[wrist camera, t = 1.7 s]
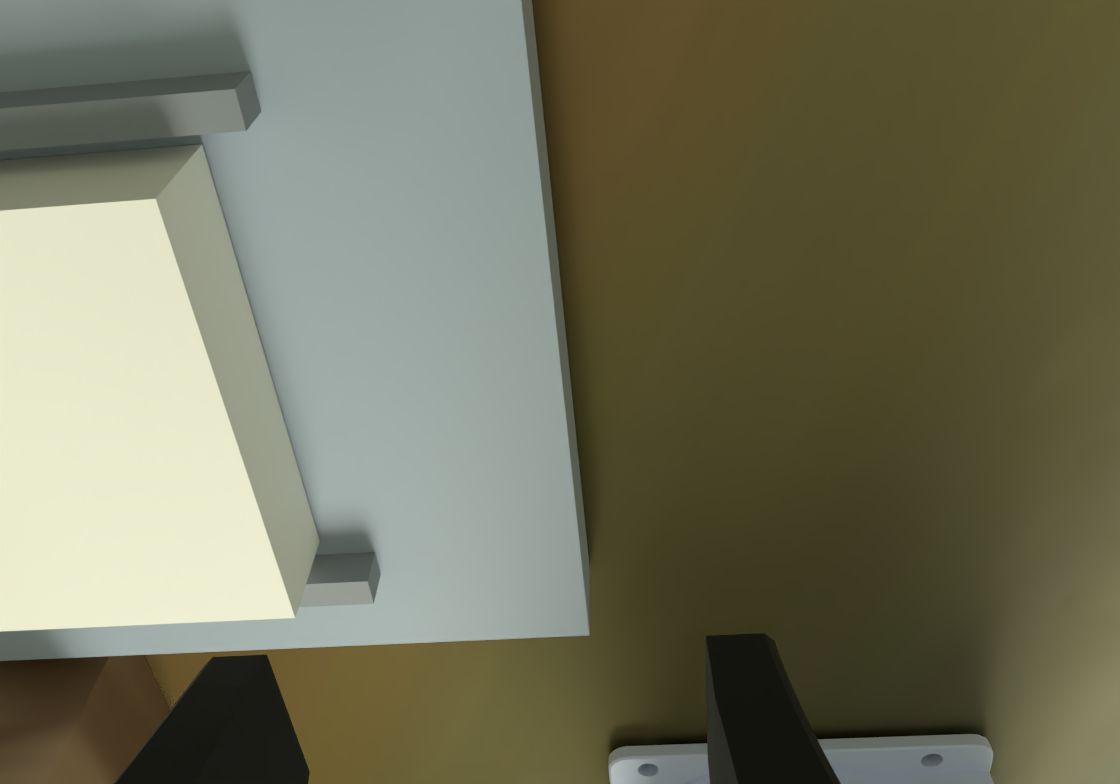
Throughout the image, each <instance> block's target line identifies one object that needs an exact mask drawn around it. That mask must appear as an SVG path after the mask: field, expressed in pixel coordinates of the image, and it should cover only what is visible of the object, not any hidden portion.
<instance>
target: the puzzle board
mask: <svg viewBox="0 0 1120 784" xmlns="http://www.w3.org/2000/svg"><path fill="white" fill-rule="evenodd" d="M200 144H202V145H203V149H204V152H205V155H206V159H207V162H208V166H209V169H210V172H211V176H212V179H213V182H214V186H215V189H216V193H217V196H218V199H219V203H220V206H221V209H222V213H223V216H224V220H225V223H226V226H227V230H228V233H229V236H230V240H231V243H232V247H233V250H234V253H235V257H236V260H237V263H238V267H239V270H240V274H241V277H242V280H243V284H244V287H245V290H246V294H247V297H248V301H249V304H250V307H251V311H252V314H253V317H254V321H255V324H256V328H257V331H258V334H259V338H260V341H261V344H262V348H263V351H264V354H265V358H266V361H267V365H268V368H269V371H270V375H271V378H272V381H273V385H274V388H275V392H276V395H277V398H278V402H279V405H280V408H281V412H282V415H283V419H284V422H285V425H286V429H287V432H288V435H289V439H290V442H291V446H292V449H293V452H294V456H295V459H296V462H297V466H298V469H299V473H300V476H301V479H302V483H303V486H304V489H305V493H306V496H307V500H308V503H309V506H310V510H311V513H312V516H313V520H314V523H315V527H316V530H317V533H318V537H319V540H320V542H319V545H318V548H317V551H316V555H315V558H314V561H313V564H312V567H311V570H310V573H309V576H308V580H307V583H306V586H305V589H304V592H303V595H302V598H301V602H300V605H299V608H298V611H297V614H296V617H295V618H285V619H264V620H242V621H220V622H198V623H176V624H154V625H132V626H110V627H88V628H66V629H44V630H22V631H1V632H0V661H11V660H34V659H57V658H80V657H103V656H126V655H149V654H172V653H195V652H218V651H241V650H264V649H287V648H310V647H333V646H356V645H379V644H402V643H425V642H448V641H471V640H494V639H517V638H540V637H563V636H586V635H589V616H590V566H589V556H588V546H587V537H586V527H585V517H584V507H583V497H582V487H581V478H580V468H579V458H578V448H577V438H576V428H575V419H574V409H573V399H572V389H571V379H570V370H569V360H568V350H567V340H566V330H565V320H564V311H563V301H562V291H561V281H560V271H559V261H558V252H557V242H556V232H555V222H554V212H553V202H552V193H551V183H550V173H549V163H548V153H547V144H546V134H545V124H544V114H543V104H542V94H541V85H540V75H539V65H538V55H537V45H536V35H535V26H534V16H533V6H532V0H0V160H12V159H25V158H37V157H50V156H62V155H75V154H87V153H100V152H112V151H125V150H137V149H150V148H162V147H175V146H187V145H200Z"/></svg>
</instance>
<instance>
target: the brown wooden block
mask: <svg viewBox="0 0 1120 784" xmlns="http://www.w3.org/2000/svg"><path fill="white" fill-rule="evenodd" d="M169 711H170V710H169V707H168V705H167V703H166V701H165V699H164V697H163V694H162V692H161V690H160V688H159V686H158V684H157V681H156V679H155V677H154V675H153V673H152V671H151V668H150V666H149V664H148V662H147V660H146V658H145V655H126V656H103V657H80V658H57V659H34V660H11V661H0V784H113V783H114V782H115V781H116V780H117V778H118V777H119V776H120V775H121V773H122V772H123V771H124V769H125V768H126V767H127V766H128V764H129V763H130V762H131V761H132V759H133V758H134V757H135V755H136V754H137V753H138V752H139V750H140V749H141V748H142V746H143V745H144V744H145V743H146V741H147V740H148V739H149V737H150V736H151V735H152V734H153V732H154V731H155V730H156V728H157V727H158V726H159V724H160V723H161V722H162V721H163V719H164V718H165V717H166V715H167V714H168V713H169Z"/></svg>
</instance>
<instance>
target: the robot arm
mask: <svg viewBox="0 0 1120 784" xmlns="http://www.w3.org/2000/svg"><path fill="white" fill-rule="evenodd" d="M706 689H707V743H699V744H671V745H643V746H624V747H620V748H617V749H615V750H614V751H613V752H612V753H611V754H610V755H609V759H608V761H609V778H610V784H994V782H993V780H992V777H991V774H990V769H991V765H992V761H993V751H992V748H991V745H990V743H989V741H988V740H987V739H986V737H983V736H981V735H978V734H951V735H923V736H895V737H867V738H839V739H817V738H816V736H815V734H814V732H813V730H812V728H811V726H810V724H809V722H808V720H807V718H806V716H805V714H804V712H803V710H802V707H801V705H800V703H799V701H798V699H797V697H796V695H795V692H794V690H793V688H792V685H791V683H790V681H789V679H788V676H787V674H786V671H785V669H784V666H783V664H782V661H781V659H780V656H779V653H778V650H777V647H776V644H775V641H774V640H772V639H771V638H770V637H768V636H767V635H766V634H764V633H763V634H740V635H717V636H706ZM309 773H310V772H309V769H308V766H307V764H306V761H305V758H304V755H303V753H302V750H301V747H300V744H299V742H298V739H297V736H296V733H295V731H294V728H293V725H292V722H291V720H290V717H289V714H288V712H287V709H286V706H285V703H284V701H283V698H282V695H281V692H280V690H279V687H278V684H277V681H276V679H275V676H274V673H273V670H272V668H271V665H270V662H269V660H268V657H267V655H252V656H229V657H212V658H211V660H210V661H209V662H208V663H207V664H206V665H205V666H204V667H203V669H202V670H201V671H200V672H199V674H198V675H197V676H196V678H195V679H194V680H193V681H192V683H191V684H190V685H189V687H188V688H187V689H186V691H185V692H184V693H183V694H182V696H181V697H180V698H179V700H178V701H177V702H176V704H175V705H174V706H173V707H172V709H171V710H170V711H169V713H168V714H167V715H166V717H165V718H164V719H163V721H162V722H161V723H160V724H159V726H158V727H157V728H156V730H155V731H154V732H153V734H152V735H151V736H150V737H149V739H148V740H147V741H146V743H145V744H144V745H143V746H142V748H141V749H140V750H139V752H138V753H137V754H136V755H135V757H134V758H133V759H132V761H131V762H130V763H129V764H128V766H127V767H126V768H125V769H124V771H123V772H122V773H121V775H120V776H119V777H118V778H117V780H116V781H115V782H114V783H113V784H308V779H309Z"/></svg>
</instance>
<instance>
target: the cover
mask: <svg viewBox="0 0 1120 784" xmlns="http://www.w3.org/2000/svg"><path fill="white" fill-rule="evenodd" d="M319 542H320V540H319V537H318V533H317V530H316V527H315V523H314V520H313V516H312V513H311V510H310V506H309V503H308V500H307V496H306V493H305V489H304V486H303V483H302V479H301V476H300V473H299V469H298V466H297V462H296V459H295V456H294V452H293V449H292V446H291V442H290V439H289V435H288V432H287V429H286V425H285V422H284V419H283V415H282V412H281V408H280V405H279V402H278V398H277V395H276V392H275V388H274V385H273V381H272V378H271V375H270V371H269V368H268V365H267V361H266V358H265V354H264V351H263V348H262V344H261V341H260V338H259V334H258V331H257V328H256V324H255V321H254V317H253V314H252V311H251V307H250V304H249V301H248V297H247V294H246V290H245V287H244V284H243V280H242V277H241V274H240V270H239V267H238V263H237V260H236V257H235V253H234V250H233V247H232V243H231V240H230V236H229V233H228V230H227V226H226V223H225V220H224V216H223V213H222V209H221V206H220V203H219V199H218V196H217V193H216V189H215V186H214V182H213V179H212V176H211V172H210V169H209V166H208V162H207V159H206V155H205V152H204V149H203V145H202V144H200V145H187V146H175V147H162V148H150V149H137V150H125V151H112V152H100V153H87V154H75V155H62V156H50V157H37V158H25V159H12V160H0V632H1V631H22V630H44V629H66V628H88V627H110V626H132V625H154V624H176V623H198V622H220V621H242V620H264V619H285V618H295V617H296V614H297V611H298V608H299V605H300V602H301V598H302V595H303V592H304V589H305V586H306V583H307V580H308V576H309V573H310V570H311V567H312V564H313V561H314V558H315V555H316V551H317V548H318V545H319Z"/></svg>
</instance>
